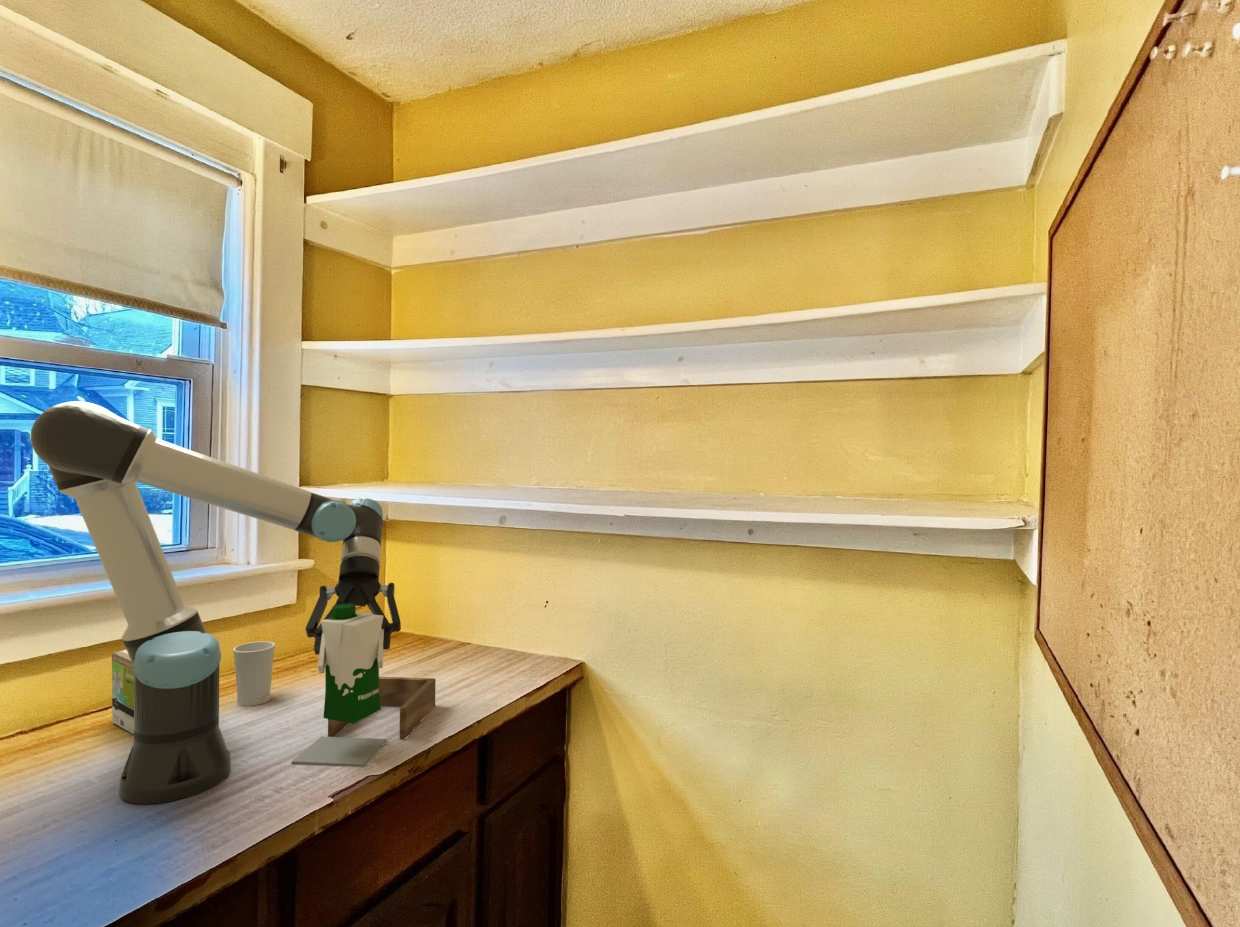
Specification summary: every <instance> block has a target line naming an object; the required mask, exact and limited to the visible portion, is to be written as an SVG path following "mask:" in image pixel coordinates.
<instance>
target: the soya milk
mask: <svg viewBox="0 0 1240 927" xmlns="http://www.w3.org/2000/svg"><path fill="white" fill-rule="evenodd" d="M356 607H357V606H355V604H350V603H345V604H338V605H335V604H334V605H333V606H332V607H331V609H332V617H330V618H327V619H326V620H324V619H323V620H320V624H321V625H322V630H323V634H324V639H325V670H324V673H325V680H324V681H325V682H324V683H325V685H324V686H325V689H324V690H325V691H324V692H325V693H324V705H323V706H324V707H323V708H324V709H323V716H322V717H323V719H327V720H328V719H331V720H336V721H341V722H346V723H349V724H352V725H355V724H357V723H358V722H361V721H363V720H364V719H366V718H368V717H371V716H372V715H373V714H375V713H378V711H381V710H382V706H381V703H380V692H379V677H380V668H378V647H379V637H380V632H381V626H382V621H383V616H382V615H374V614H373V613H372V612H371V613H370V612H362V611H361V612H360V611H359V612H358V611H356V609H357V608H356Z"/></svg>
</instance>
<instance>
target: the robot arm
mask: <svg viewBox="0 0 1240 927" xmlns="http://www.w3.org/2000/svg"><path fill="white" fill-rule="evenodd" d="M32 424H33V425H32V426H31V430H30V443H31V446H32V449H33V451H34V453H35V454H36V455H37V456H38V457H39V459H40V460H41V461H42V462H44V464H46V465H47V466H48V468H49V471H50V473H51V476H52V478H53V480H54V482H55V485H56V487H57V490H58V491H59V493H61V494H63V495H66V496H68V497H71V498H73V499H74V500H75V502H76V504H77V506H78V508H79V512H80V514H81V517H82V518H83V521H84V523H85V526H86V528H87V530H88V533H89V535H90V538H91V540H92V542H93V545H94V547H95V549H96V552H97V553H98V556H99V559H100V561H101V564H102V566H103V568H104V571H105V574H106V576H107V578H108V580H109V582H110V586H111V587H112V590H113V593H114V595H115V596H116V599H117V602H118V604H119V607H120V609H121V611H122V613H123V617H124V618H125V620H126V621H125V622H126V623H127V628H126V629H125V630H124V633H123V634H122V636H121V640H122V642H123V645H124V647H125V650H127V652H128V654H129V657H130V659H131V661H132V664H133V672H134V674H135V675H134V734H133V744H132V746H131V749H130V752H129V753H128V757H127V760H126V761H125V765H124V768H123V770H122V773H121V775H120V777H119V797H120V798H121V800H123V801H125V802H128V803H131V804H136V805H137V804H139V805H151V804H159V803H167V802H172V801H177V800H180V799H184V798H188V797H190V796H194V795H196V794H199V793H201V792H204V791H206V790H208V789H210V788H212V787H214V786H216V785H218V784H219V783H220V782H221V781H223V780H224V779H225V778H227V776H228V775H229V773H230V772H231V760H232V759H231V753H230V752H229V750H228V747H227V745H226V742H225V738H224V736H223V733H222V730H221V728H220V664H221V663H220V662H221V661H222V660H221V659H222V653H221V652H222V651H221V648H220V642H219V640H218V639H217V637H216V636H214V635H212V634H211V633H207V631H206V628H205V626H204V624H203V621H202V618H201V616H200V614H199V611H198V609H197V608H196V607H194V606H190V605H187V604H185V603H184V601H183V597H182V596H181V593H180V591H179V588H178V585H177V584H176V580H175V578H174V575H173V573H172V571H171V568H170V565H169V563H168V561H167V558H166V556H165V553H164V550H163V548H162V546H161V543H160V541H159V538H158V535H157V532H156V530H155V528H154V526H153V522H152V520H151V518H150V515H149V513H148V510H147V508H146V505H145V503H144V500H143V497H142V495H141V493H140V491H139V488H138V485H137V483H140V484H143V485H146V486H150V487H153V488H155V489H160V490H162V491H166V492H169V493H172V494H175V495H179V496H182V497H184V498H188V499H192V500H195V501H199V502H202V503H204V504H208V505H211V506H215V507H218V508H221V509H224V510H228V511H231V512H234V513H238V514H241V515H244V516H248V517H251V518H253V519H257V520H261V521H264V522H267V523H270V524H273V525H275V526H276V525H277V526H279V527H282V528H286V529H288V530H289V529H290V530H292V531H296V532H297V533H298V532H299V533H302V534H304V535H308V536H312V537H313V538H314V537H315V538H318V540H321V541H323V542H326V543H337V542H340V541H342V544H341V545H342V546H341V555H340V565H339V572H338V573H339V574H338V581H337V583H336V585H335V586H333V587H327V586H326V585H321V586H320V587H319V597H318V599H317V601H316V602H315V606H314V608H313V610H312V612H311V615H310V617H309V619H308V622H307V624H306V626H305V633H306V636H307V638H314V646H313V651H314V655H315V656H316V655H318V662H317V668H318V672H319V674H324V673H325V639H324V634H323V630H322V625H321V621H322V620H321V619H322V617H323V615H324V612H325V610H326V608H327V605H328V601H330V600H331V599H332V596H334V595H336V596H337V597H338V598H337V599H336V602H335V603H334V605H338V604H345V603H350V604H355V606H356V607H366V606H367V608H368V610H370V611H371V613H373V614H374V615H382V616H383V621H382V626H381V632H380V637H379V647H378V668H379V669H383V668H384V666H383V665H384V654H385V652H384V650H390V648H391V636H392V633H395V632H397V633H398V632H400V631H401V630H402V628H401V627H402V626H401V625H402V624H401V618H400V615H399V609H398V606H397V602H396V599H395V592H396V590H395V583H394V582H389V583H388V584H382V583H381V582H380V568H381V564H380V563H381V552H382V536H383V527H384V511H383V508H382V505H381V504H380V503H379V502H378V501H376V500H374V499H372V498H369V497H367V498H363V499H362V498H356V499H353V500H352V501H350V502H349V504H348V503H346V502H343V501H340V500H336V499H332V498H328V497H326V496H324V495H320V494H318V493H314V492H311V491H309V490H307V489H303V488H300V487H298V486H294V485H292V484H289V483H285V482H284V481H281V480H278V479H274V478H272V477H269V476H266V475H263V474H260V473H257V472H254V471H252V470H248V469H245V468H243V467H241V466H237V465H234V464H231V463H228V462H226V461H223V460H220V459H217V458H214V457H211V456H209V455H206V454H203V453H200V452H198V451H194V450H193V449H192V450H191V449H189V448H185V447H183V446H180V445H178V444H174V443H171V442H169V441H165V440H163V439H160V438H158V437H156V435H155V434H154V432H153V429H151V428H147V427H144V426H142V425H140V424H136V423H134V422H131V421H129V420H127V419H125V418H123V417H121V416H119V415H118V414H115V413H114V412H112V411H110V410H109V409H108V408H106V407H104V406H102V405H98V404H96V403H92V402H88V401H80V400H79V401H78V400H77V401H76V400H75V401H67V402H62V403H58V404H55V405H54V406H51V407H48V409H46V410H45V411H43V412H42V413H41V414H40V415H39V416H38V417H37V418H36V419H35V421H34V422H33V423H32ZM380 593H382V594H383V596H384V597H385V598H386V600H387V606H388V610H389V614H390V618H391V622H389V620H388V618H387V617H386V615H385V613H384V612H383V610H382V608H381V607H380V605H379V603H378V602H377V600H376V597H377V596H378V594H380ZM330 617H332V608H331V609H330V610H329V612H328V613H327V614H326V616H325V617H324V619H323V620H326V619H327V618H330Z"/></svg>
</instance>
